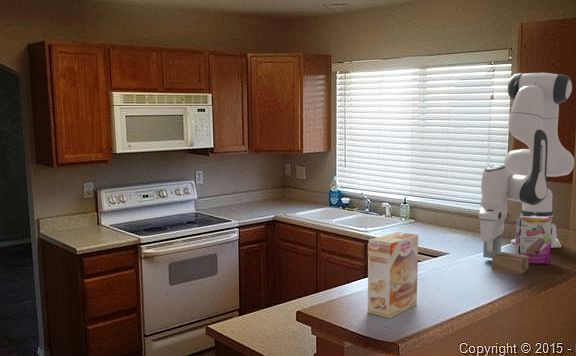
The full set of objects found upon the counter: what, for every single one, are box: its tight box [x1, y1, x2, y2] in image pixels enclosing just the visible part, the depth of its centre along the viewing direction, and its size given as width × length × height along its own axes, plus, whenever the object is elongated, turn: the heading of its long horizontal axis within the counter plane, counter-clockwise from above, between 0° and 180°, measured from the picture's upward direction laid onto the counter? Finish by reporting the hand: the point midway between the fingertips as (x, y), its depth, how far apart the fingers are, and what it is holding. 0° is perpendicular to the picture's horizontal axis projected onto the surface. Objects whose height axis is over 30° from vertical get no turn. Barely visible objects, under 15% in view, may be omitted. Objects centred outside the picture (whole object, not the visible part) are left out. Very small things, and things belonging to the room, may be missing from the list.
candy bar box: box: [514, 215, 554, 265], centre depth 199 cm, size 11×5×16 cm, turn 84°
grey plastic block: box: [482, 235, 502, 259], centre depth 202 cm, size 5×5×7 cm
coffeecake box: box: [367, 231, 419, 319], centre depth 149 cm, size 15×7×20 cm, turn 139°
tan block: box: [491, 251, 529, 276], centre depth 190 cm, size 9×9×5 cm
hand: (492, 249), depth 202 cm, fingers closed on grey plastic block, 5 cm apart
